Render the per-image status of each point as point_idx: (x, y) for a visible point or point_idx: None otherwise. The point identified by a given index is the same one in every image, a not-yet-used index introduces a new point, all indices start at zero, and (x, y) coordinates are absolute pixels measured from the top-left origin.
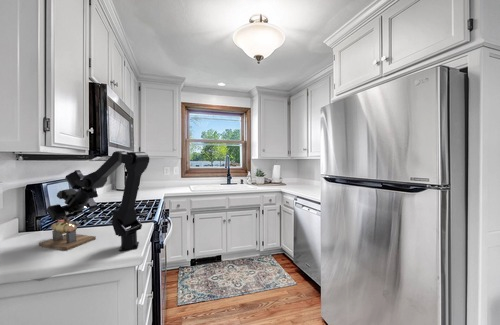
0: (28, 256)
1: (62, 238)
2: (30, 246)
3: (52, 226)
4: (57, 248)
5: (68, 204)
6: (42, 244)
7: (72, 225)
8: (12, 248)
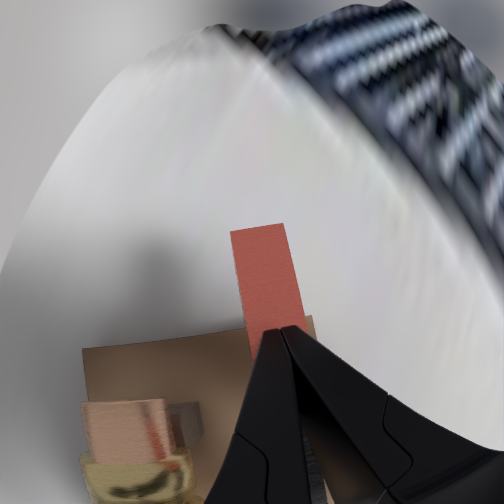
0: (20, 450)
1: (202, 432)
2: (78, 287)
3: (85, 426)
4: None
5: None
6: (88, 386)
7: None
8: (41, 225)
